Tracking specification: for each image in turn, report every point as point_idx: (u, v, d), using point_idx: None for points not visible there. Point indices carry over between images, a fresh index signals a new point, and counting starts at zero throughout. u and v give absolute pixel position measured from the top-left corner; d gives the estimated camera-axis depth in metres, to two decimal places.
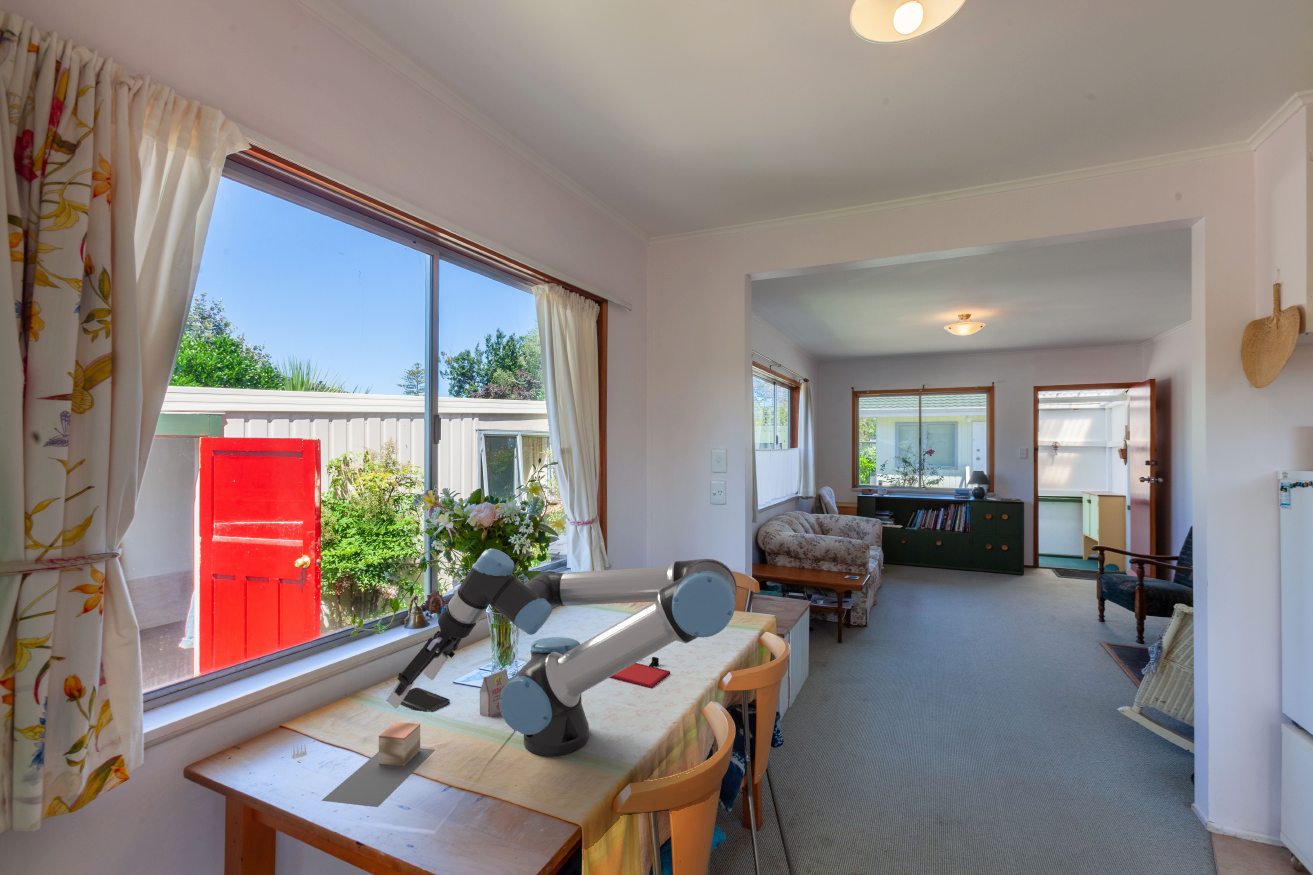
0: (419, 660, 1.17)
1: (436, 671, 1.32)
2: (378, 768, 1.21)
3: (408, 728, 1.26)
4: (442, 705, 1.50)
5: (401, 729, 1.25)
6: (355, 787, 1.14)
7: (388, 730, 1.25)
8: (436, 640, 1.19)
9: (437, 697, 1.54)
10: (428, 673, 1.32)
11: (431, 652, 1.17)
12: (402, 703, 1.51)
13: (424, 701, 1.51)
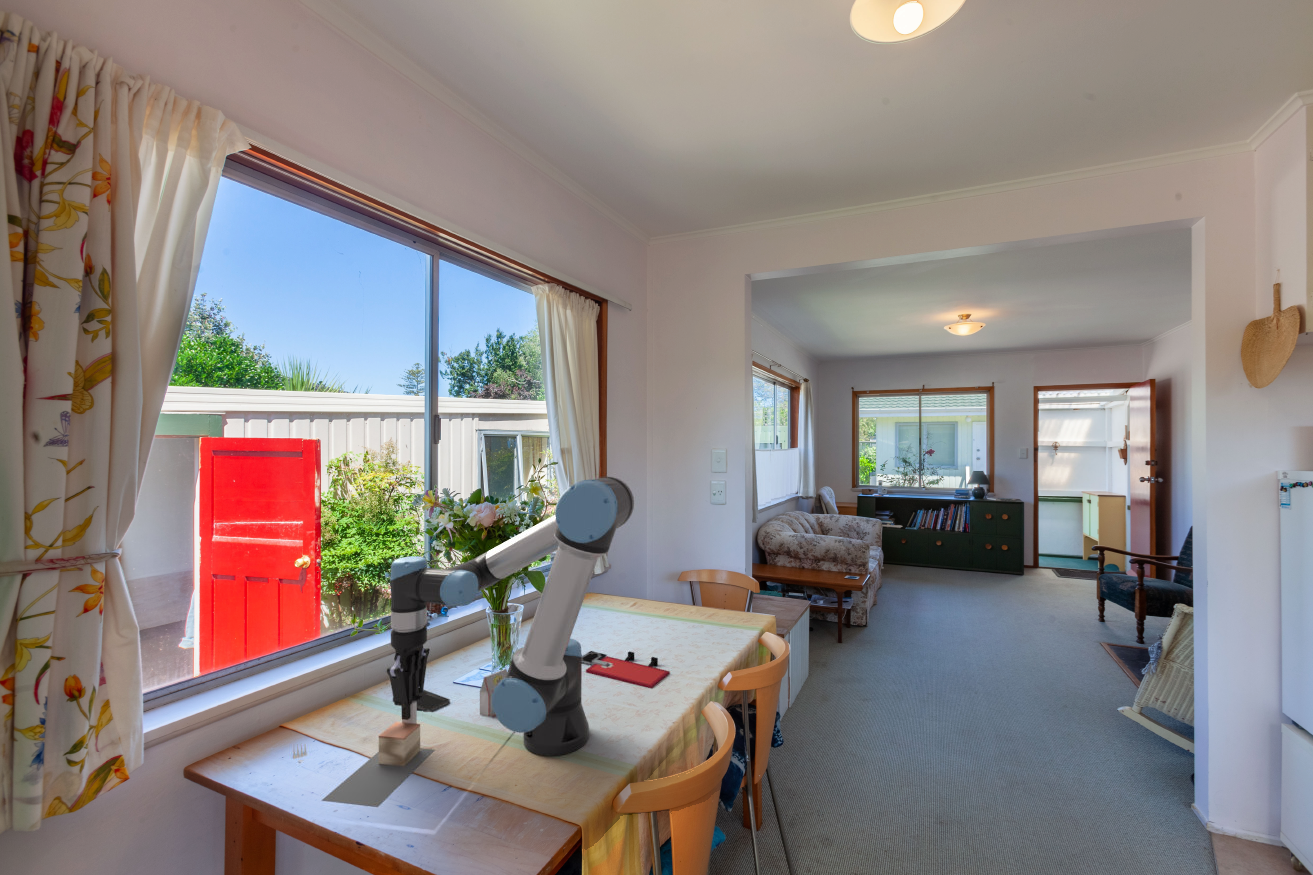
0: (396, 686, 1.24)
1: None
2: (378, 768, 1.21)
3: (408, 728, 1.26)
4: (442, 705, 1.50)
5: (401, 729, 1.25)
6: (355, 787, 1.14)
7: (388, 730, 1.25)
8: (394, 666, 1.23)
9: (437, 697, 1.54)
10: None
11: (398, 677, 1.23)
12: None
13: (424, 701, 1.52)
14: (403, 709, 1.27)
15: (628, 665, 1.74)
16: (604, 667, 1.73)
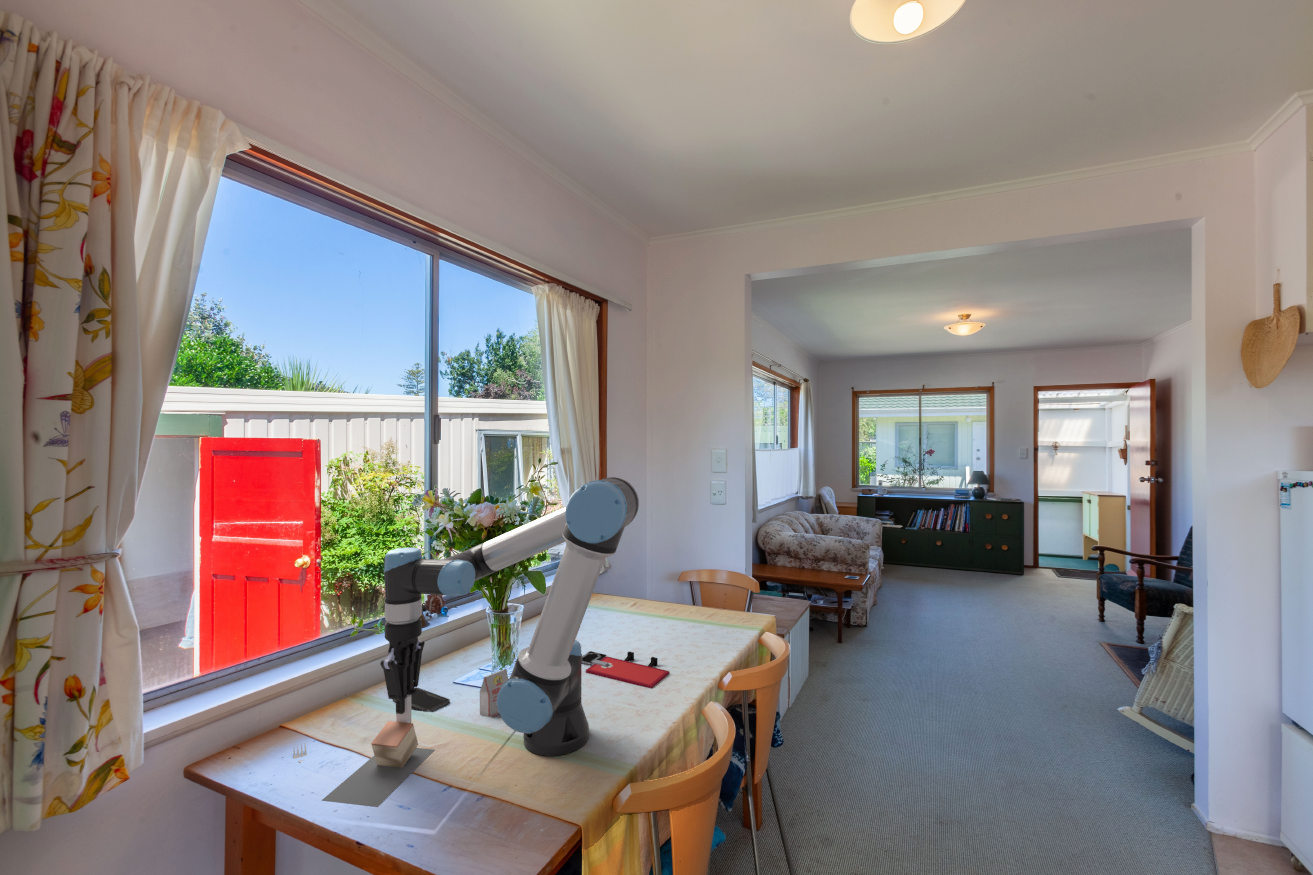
0: (390, 679, 1.22)
1: None
2: (378, 768, 1.21)
3: (401, 730, 1.23)
4: (442, 705, 1.50)
5: (394, 732, 1.23)
6: (355, 787, 1.14)
7: (381, 734, 1.22)
8: (388, 658, 1.21)
9: (437, 697, 1.54)
10: None
11: (392, 669, 1.21)
12: None
13: (424, 701, 1.52)
14: (397, 703, 1.25)
15: (628, 665, 1.74)
16: (604, 667, 1.73)
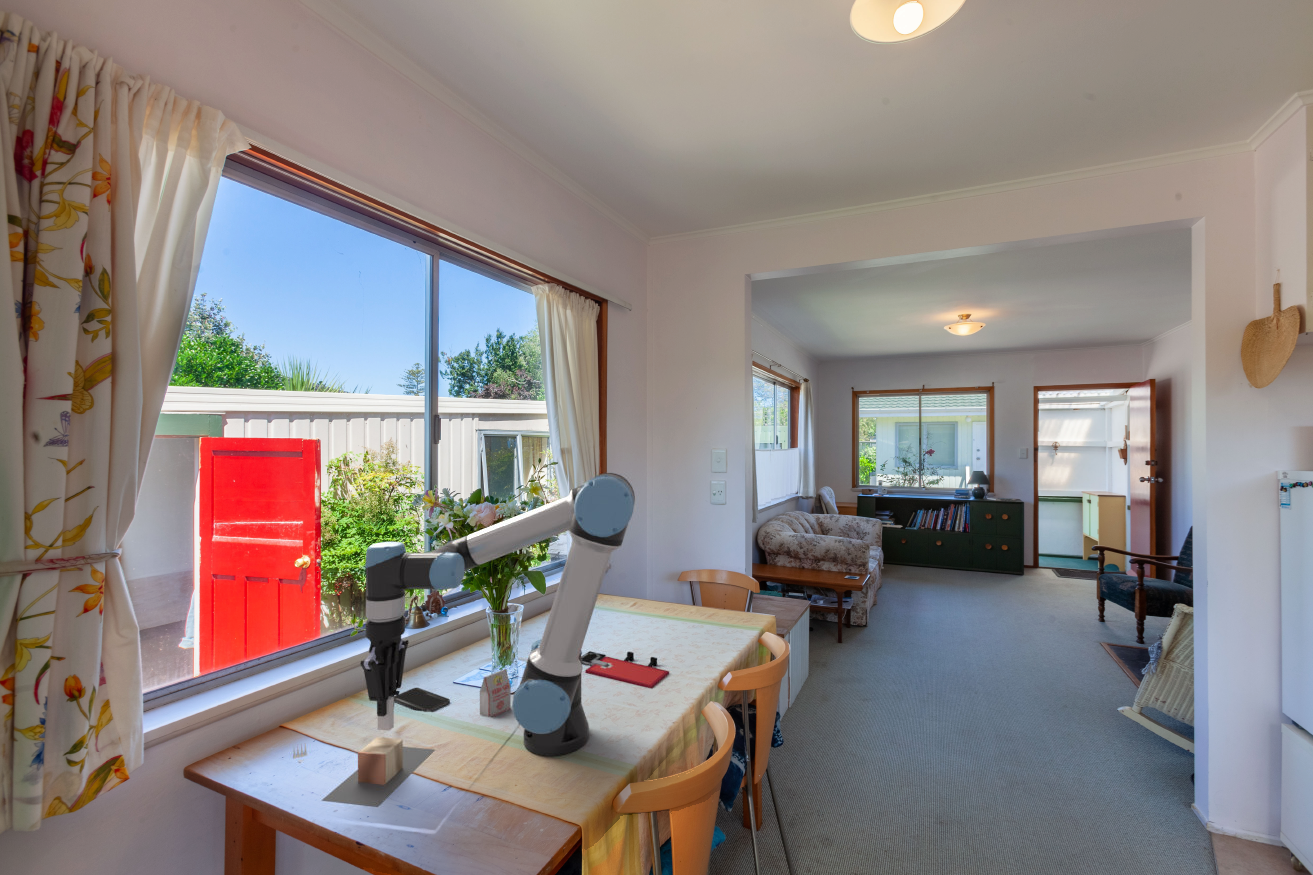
0: (371, 680, 1.16)
1: None
2: None
3: (377, 765, 1.16)
4: (442, 705, 1.50)
5: (372, 767, 1.16)
6: (355, 787, 1.14)
7: (361, 770, 1.16)
8: (368, 658, 1.15)
9: (437, 697, 1.54)
10: None
11: (372, 670, 1.15)
12: (402, 703, 1.51)
13: (424, 701, 1.52)
14: (379, 705, 1.19)
15: (627, 665, 1.74)
16: (603, 667, 1.73)
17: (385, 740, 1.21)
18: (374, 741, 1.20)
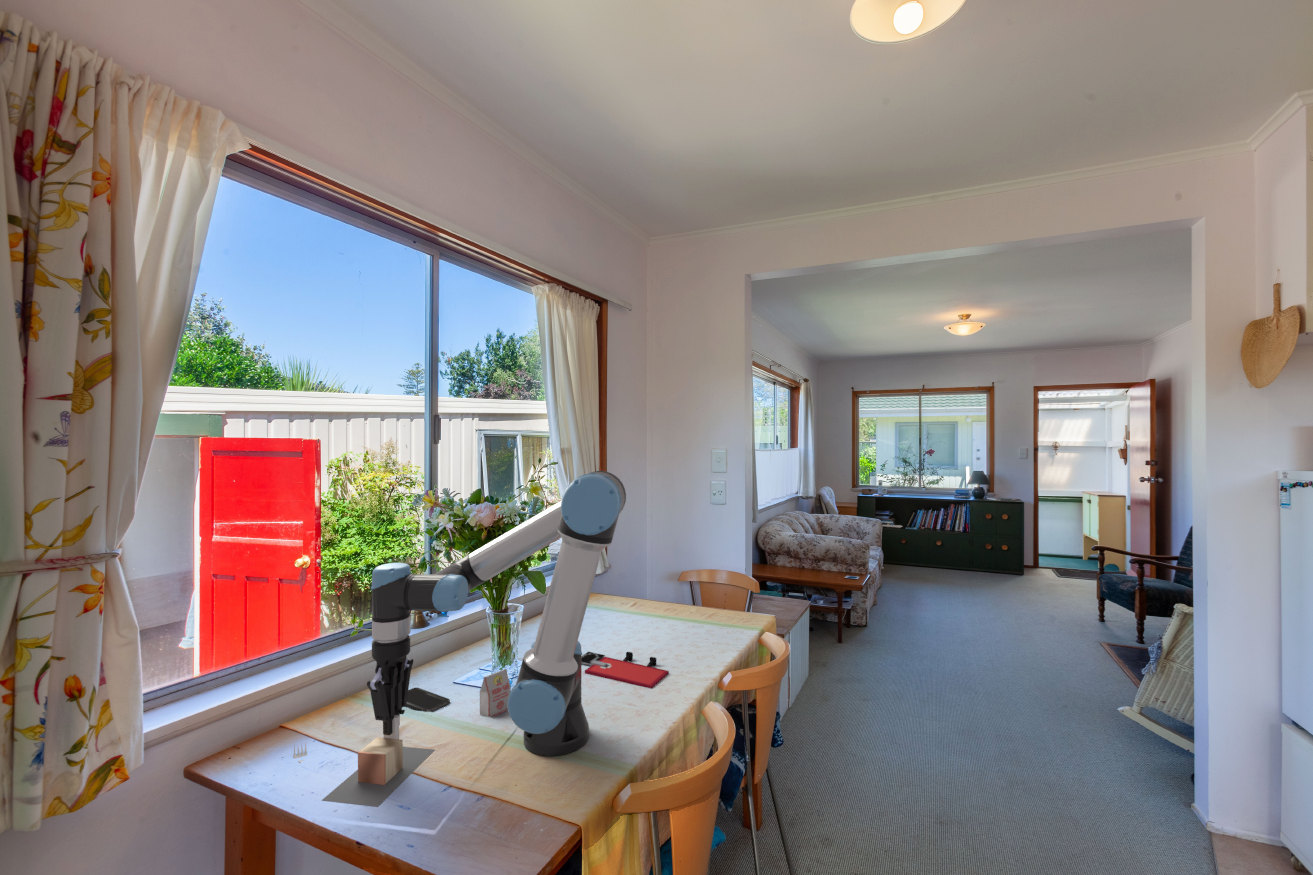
0: (377, 700, 1.18)
1: None
2: None
3: (377, 765, 1.16)
4: (442, 705, 1.50)
5: (372, 767, 1.16)
6: (355, 787, 1.14)
7: (361, 770, 1.16)
8: (374, 679, 1.17)
9: (437, 697, 1.54)
10: None
11: (378, 690, 1.17)
12: None
13: (424, 701, 1.52)
14: (385, 724, 1.21)
15: (627, 665, 1.74)
16: (603, 668, 1.72)
17: (385, 740, 1.21)
18: (374, 741, 1.20)
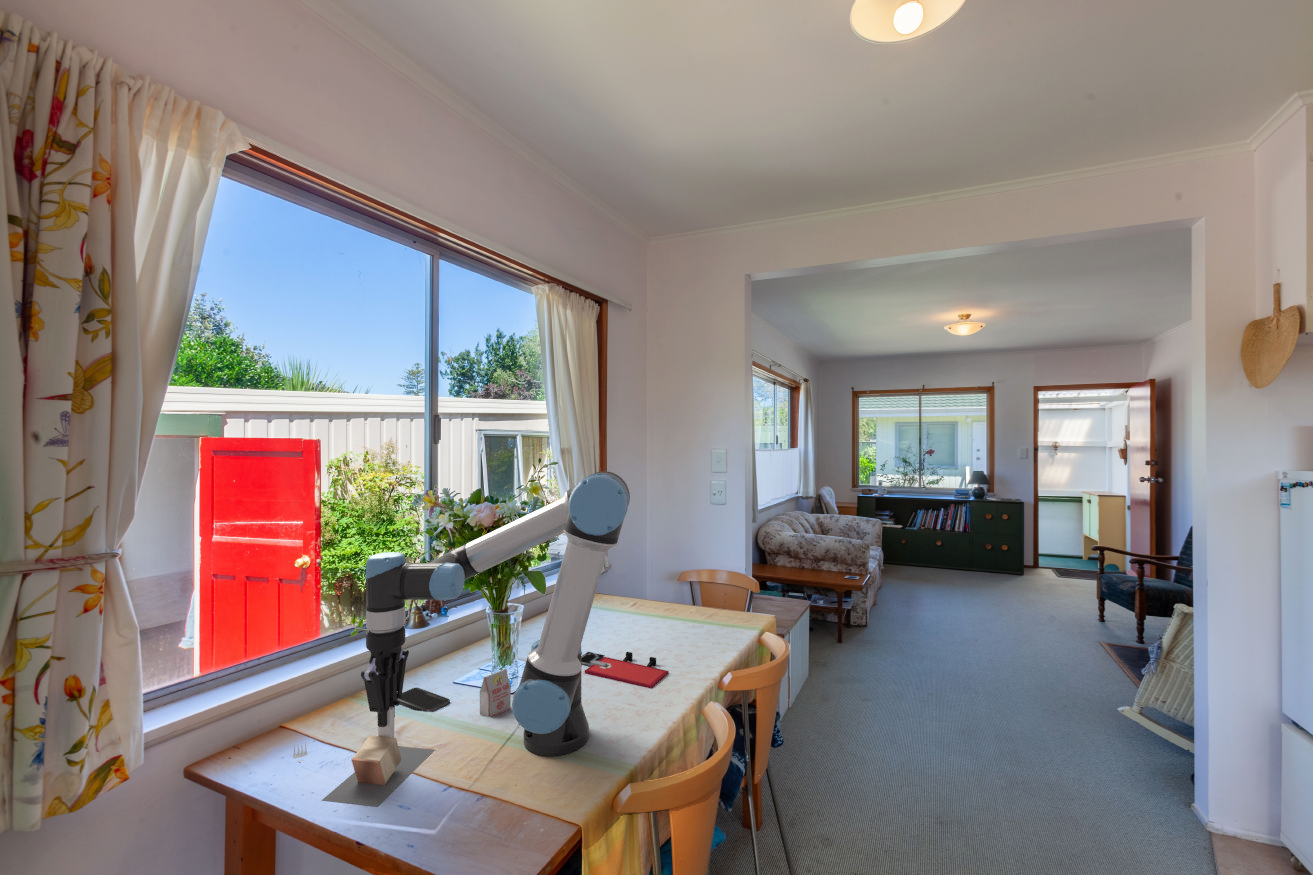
0: (371, 691, 1.16)
1: None
2: None
3: (374, 769, 1.14)
4: (442, 705, 1.50)
5: (369, 771, 1.15)
6: (355, 787, 1.14)
7: (358, 773, 1.15)
8: (369, 669, 1.15)
9: (437, 697, 1.54)
10: None
11: (373, 681, 1.15)
12: (402, 703, 1.51)
13: (424, 701, 1.52)
14: (379, 716, 1.19)
15: (627, 665, 1.74)
16: (603, 668, 1.72)
17: (378, 739, 1.19)
18: (367, 742, 1.18)
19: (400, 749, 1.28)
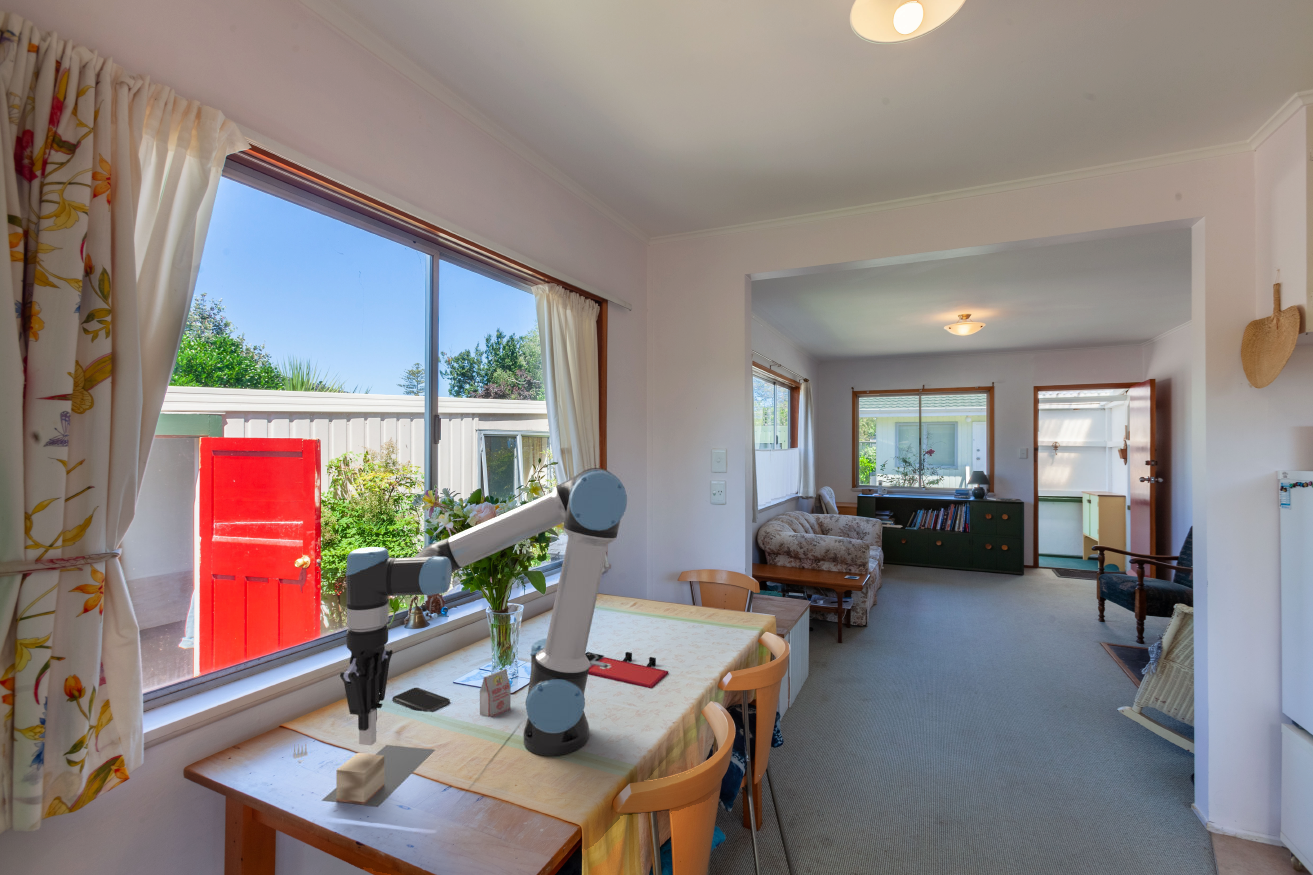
0: (351, 692, 1.10)
1: (372, 731, 1.15)
2: None
3: None
4: (442, 705, 1.50)
5: None
6: None
7: None
8: (348, 670, 1.10)
9: (437, 697, 1.54)
10: None
11: (353, 682, 1.09)
12: (402, 703, 1.51)
13: (424, 701, 1.52)
14: (360, 719, 1.13)
15: (626, 666, 1.74)
16: (602, 668, 1.72)
17: (348, 775, 1.10)
18: (339, 779, 1.10)
19: (400, 749, 1.28)
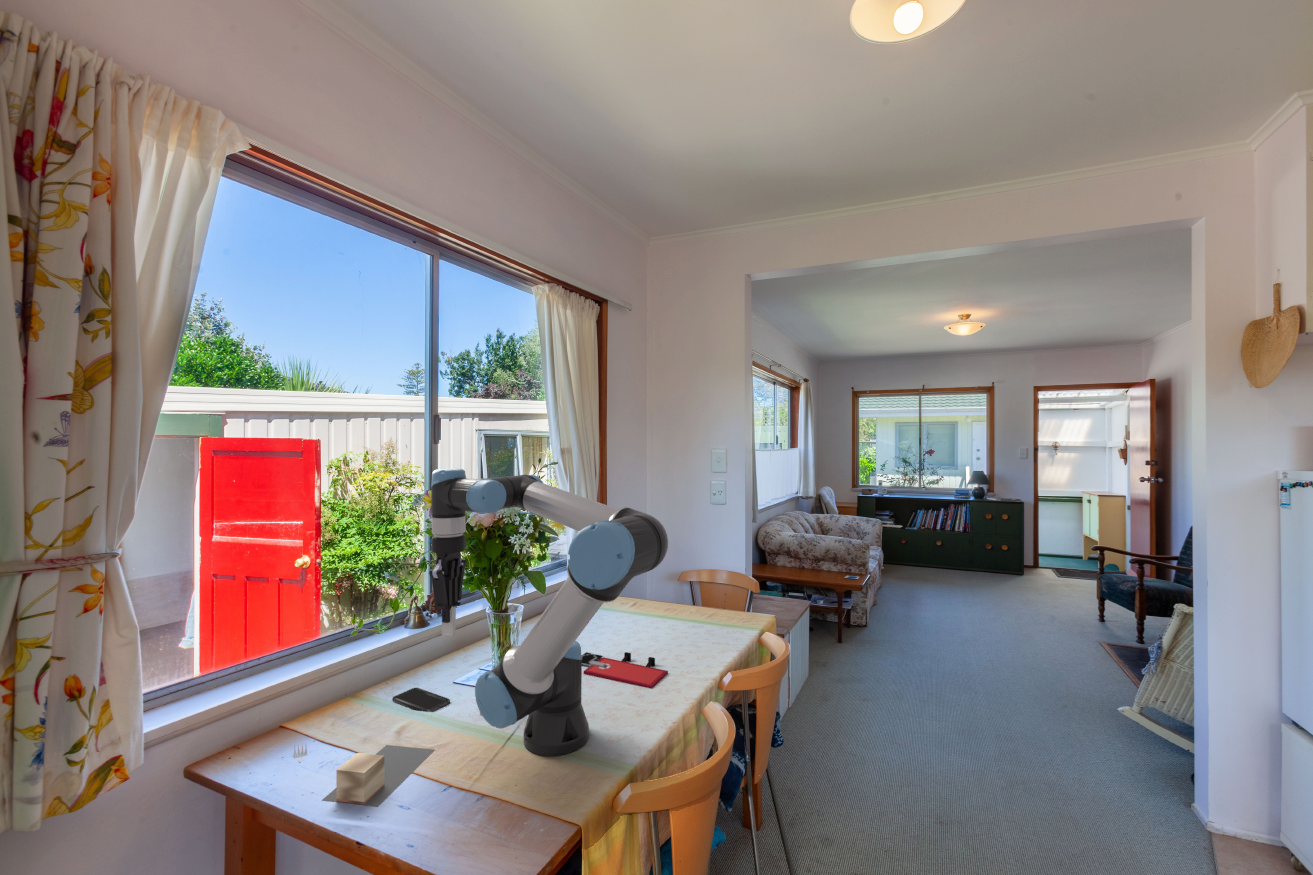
0: (438, 588, 1.29)
1: None
2: None
3: None
4: (443, 705, 1.50)
5: None
6: None
7: None
8: (436, 568, 1.29)
9: (437, 697, 1.54)
10: None
11: (439, 578, 1.29)
12: (402, 703, 1.51)
13: (424, 701, 1.52)
14: (443, 612, 1.32)
15: (626, 666, 1.74)
16: (602, 668, 1.72)
17: (348, 775, 1.10)
18: (339, 779, 1.10)
19: (400, 749, 1.28)
